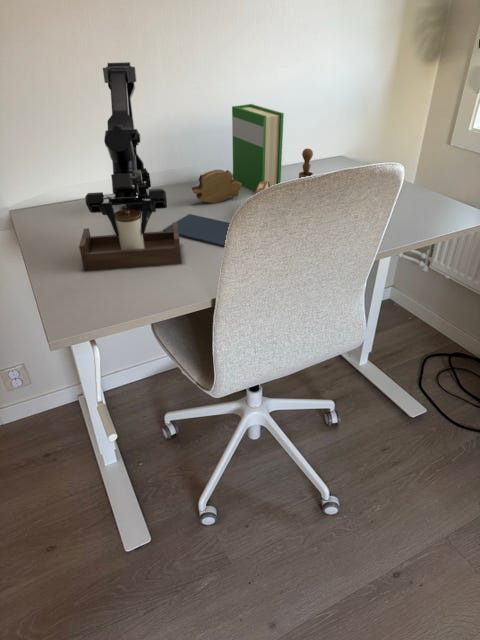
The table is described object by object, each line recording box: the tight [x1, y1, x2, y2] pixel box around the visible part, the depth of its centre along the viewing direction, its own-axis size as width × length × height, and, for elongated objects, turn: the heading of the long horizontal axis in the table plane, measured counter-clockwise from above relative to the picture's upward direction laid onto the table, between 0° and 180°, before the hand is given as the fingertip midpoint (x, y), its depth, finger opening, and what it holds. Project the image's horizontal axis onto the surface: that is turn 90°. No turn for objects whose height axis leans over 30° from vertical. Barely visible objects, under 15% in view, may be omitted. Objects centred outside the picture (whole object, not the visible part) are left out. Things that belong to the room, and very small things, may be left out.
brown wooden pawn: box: [298, 148, 314, 179], centre depth 136 cm, size 7×6×18 cm
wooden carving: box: [191, 169, 243, 204], centre depth 145 cm, size 16×5×10 cm, turn 120°
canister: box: [114, 209, 145, 250], centre depth 112 cm, size 6×6×10 cm
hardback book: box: [231, 103, 285, 192], centre depth 153 cm, size 18×7×24 cm, turn 33°
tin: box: [254, 181, 270, 195], centre depth 137 cm, size 15×3×8 cm, turn 168°
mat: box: [162, 213, 231, 248], centre depth 129 cm, size 20×13×1 cm, turn 61°
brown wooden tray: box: [78, 221, 182, 272], centre depth 115 cm, size 10×23×6 cm, turn 99°
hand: (129, 234), depth 112 cm, fingers closed on canister, 6 cm apart
